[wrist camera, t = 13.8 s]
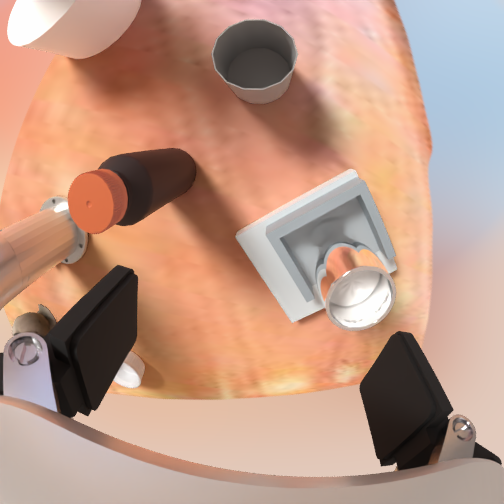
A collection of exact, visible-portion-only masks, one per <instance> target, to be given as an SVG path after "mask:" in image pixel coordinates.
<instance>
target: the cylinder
mask: <svg viewBox="0 0 504 504" xmlns="http://www.w3.org/2000/svg"><path fill="white" fill-rule="evenodd" d="M140 6H141V0H17V1H16V3H15V5H14V8H13V10H12V12H11V15H10V19H9V22H8V32H7V33H8V38H9V41H10V42H11V43H12V44H13V45H17V46H22V47H27V48H32V49H37V50H42V51H46V52H50V53H54V54H58V55H62V56H66V57H70V58H74V59H85V58H88V57H91V56H94V55H97V54H98V53H100V52H101V51H103V50H105V49H107V48H108V47H109V46H110V45H112V44H113V43H114V42H115V41H116V40H118V39H119V38H120V37H121V35H122V34H123V33H124V32H125V31H126V30H127V29H128V28H129V26H130V25H131V23H132V22H133V20H134V19H135V17H136V15H137V13H138V10H139V8H140Z"/></svg>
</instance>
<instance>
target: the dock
mask: <svg viewBox="0 0 504 504" xmlns="http://www.w3.org/2000/svg"><path fill="white" fill-rule="evenodd" d="M326 220H339V221H341V222H343V223H345V224H346V225H347V226H348V227H349V228H350V230H351V232H352V234H353V238H355V239H357V240H359V241H361V242H362V243H364V244H365V245H367V246H368V247H369V248H371V249H372V251H373V252H374V253H375V254H376V255H377V256H378V257H379V259H380V260H381V261H382V263H383V264H384V266H385V268H386V269H387V271H388V273H389V274H390V273H392V272H393V271H395V270H397V267H396V264H395V261H394V258H393V257H394V256H396V254H395V252H394V249H393V246H392V244H391V241H390V238H389V236H388V233H387V231H386V228H385V226H384V223H383V221H382V218H381V216H380V214H379V211H378V209H377V207H376V204H375V202H374V200H373V198H372V196H371V193H370V191H369V189H368V187H367V185H366V183H365V181H364V180H362V179H360V178H359V177H358V175H357V173H356V171H355V170H353V169H348V170H347V171H345V172H343V173H341V174H339V175H337V176H335V177H334V178H332V179H330V180H328V181H326V182H324V183H323V184H321V185H319V186H317V187H315V188H313V189H312V190H310V191H308V192H306V193H304V194H302V195H301V196H299V197H297V198H295V199H293V200H292V201H290V202H288V203H286V204H284V205H283V206H281V207H279V208H277V209H276V210H274V211H272V212H270V213H269V214H267V215H265V216H263V217H261V218H260V219H258V220H256V221H254V222H253V223H251V224H249V225H247V226H246V227H244V228H242V229H240V230H239V231H237V233H236V236H235V238H236V239H237V241H238V242H239V244H240V245H241V247H242V248H243V250H244V251H245V253H246V254H247V256H248V257H249V259H250V260H251V262H252V263H253V265H254V266H255V268H256V269H257V271H258V273H259V274H260V276H261V277H262V279H263V280H264V282H265V283H266V285H267V286H268V288H269V289H270V291H271V292H272V294H273V295H274V297H275V298H276V300H277V301H278V303H279V304H280V306H281V307H282V309H283V310H284V312H285V313H286V315H287V316H288V318H289V319H290V321H291V322H292V323H293V322H295V321H298V320H300V319H302V318H304V317H306V316H308V315H310V314H313V313H315V312H317V311H319V310H321V309H323V308H325V307H324V305H323V302H322V300H321V298H320V295H319V292H318V288H317V283H316V276H315V266H316V258H315V257H314V256H313V254H312V253H311V251H310V248H309V238H310V234H311V232H312V230H313V229H314V228H315V227H316V226H317V225H318V224H319V223H321V222H323V221H326Z"/></svg>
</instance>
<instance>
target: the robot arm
mask: <svg viewBox="0 0 504 504" xmlns="http://www.w3.org/2000/svg"><path fill="white" fill-rule="evenodd" d="M87 243H88V232H85V231H84V230H82V229H80V228H79V227H78V226H77V224H75V222H74V221H73V219H72V218H71V215H70V212H69V207H68V198H67V197H64V196H54V197H52V198H49V199H48V200H46V201H45V202H44V204H43V205H42V207H41V209H40V212H38V213H36V214H33V215H31V216H29V217H27V218H25V219H23V220H20V221H18V222H16V223H14V224H12V225H10V226H8V227H6V228H4V229H2V230H0V310H1V309H2V308H3V307H4V306H5V305H6V304H7V303H9V302H10V301H11V300H12V299H13V298H14V297H16V296H17V295H18V294H19V293H20V292H22V291H23V290H24V289H25V288H27V287H28V286H29V285H31V284H32V283H33V282H34V281H36V280H37V279H38V278H40V277H41V276H42V275H44V274H45V273H46V272H48V271H49V270H50V269H52V268H53V267H54V266H56V265H57V264H59V263H60V262H61V263H65V264H72V263H75V262H76V261H78V260H79V259H80V258H81V257H82V256H83V255H84V253H85V251H86V248H87ZM137 291H138V276H137V275H135V274H134V271H133V269H130V268H127V267H123V266H120V265H117V266H116V267H114V268H113V269H112V270H111V271H110V272H109V273H108V274H107V275H106V276H105V277H104V278H103V279H102V280H101V281H100V282H98V283H97V284H96V285H95V286H94V287H93V288H92V289H91V290H90V291H89V292H88V293H87V294H86V295H85V296H83V297H82V298H81V299H80V300H79V301H78V302H77V303H76V304H75V305H74V306H73V307H72V308H71V309H70V310H69V311H68V312H67V313H66V314H65V315H64V316H63V317H62V319H61V320H60V321H59V322H58V323H57V324H56V325H55V326H54V327H53V328H52V329H51V330H50V331H49V332H48V333H47V335H46V336H45V337H44V338H42V337H40V336H39V335H37V334H34V333H27V332H24V333H20V334H17V335H15V336H13V337H12V338H11V339H10V340H8V342H7V343H6V345H5V348H4V353H0V504H504V468H503V467H502V466H501V464H502V463H501V460H500V458H499V457H497V456H496V455H495V454H493V453H492V452H490V451H489V450H487V449H485V448H484V447H482V446H481V445H479V444H478V443H476V442H475V439H476V431H475V427H474V425H473V424H472V422H471V421H470V420H469V419H468V418H466V417H465V416H463V415H454V416H453V417H451V418H450V419H448V417H447V416H448V415H449V414H450V413H451V412H452V411H453V408H452V406H451V404H450V402H449V400H448V398H447V396H446V394H445V392H444V390H443V388H442V386H441V384H440V382H439V380H438V379H437V377H436V375H435V373H434V371H433V369H432V368H431V366H430V364H429V363H428V360H427V358H426V357H425V355H424V353H423V352H422V350H421V348H420V346H419V345H418V343H417V341H416V340H415V338H414V336H413V335H412V334H411V333H407V332H401V331H398V332H396V333H395V334H394V335H392V336H391V337H390V339H389V340H388V342H387V344H386V345H385V347H384V349H383V350H382V352H381V353H380V355H379V356H378V358H377V359H376V361H375V363H374V364H373V366H372V367H371V368H370V370H369V371H368V373H367V374H366V376H365V377H364V379H363V380H362V382H361V384H360V393H361V397H362V400H363V404H364V408H365V411H366V415H367V419H368V423H369V427H370V431H371V435H372V439H373V444H374V448H375V452H376V456H377V458H378V459H380V464H381V466H388V465H393V464H394V463H397V467H396V469H395V471H393V472H386V473H379V474H370V475H358V476H343V477H292V476H276V475H265V474H255V473H248V472H241V471H234V470H228V469H221V468H216V467H212V466H207V465H202V464H198V463H193V462H189V461H185V460H181V459H177V458H174V457H170V456H167V455H163V454H160V453H156V452H153V451H150V450H148V449H145V448H142V447H139V446H136V445H133V444H130V443H127V442H124V441H122V440H119V439H117V438H114V437H111V436H109V435H107V434H104V433H102V432H100V431H97V430H95V429H93V428H91V427H88V426H86V425H84V424H82V423H79V422H77V421H75V420H73V417H74V416H75V415H76V413H77V411H78V412H80V413H82V414H84V415H86V416H89V414H90V412H91V410H94V411H95V410H96V409H97V408H98V407H99V405H100V403H101V401H102V399H103V398H104V396H105V394H106V392H107V390H108V389H109V387H110V385H111V383H112V381H113V380H114V378H115V376H116V374H117V373H118V371H119V369H120V367H121V366H122V364H123V362H124V360H125V359H126V357H127V355H128V354H129V352H130V350H131V348H132V347H133V345H134V343H135V341H136V338H137Z"/></svg>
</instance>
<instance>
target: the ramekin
mask: <svg viewBox="0 0 504 504" xmlns="http://www.w3.org/2000/svg"><path fill="white" fill-rule="evenodd" d="M144 371H145V365H144V363H143V361H142V360H141V358H140V357H139V356H138V355H136V354H135V353H134V352H132V351H130V352H129V354H128V355H127V357H126V359H125V360H124V362H123V364H122V366H121V367H120V369H119V371H118V373H117V374H116V376H115V378H114V380H113V381H115V382H116V383H118V384H120V385H122V386H124V387H127V388H137V387H139V386H140V384H141V379H142V377H143V374H144Z"/></svg>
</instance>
